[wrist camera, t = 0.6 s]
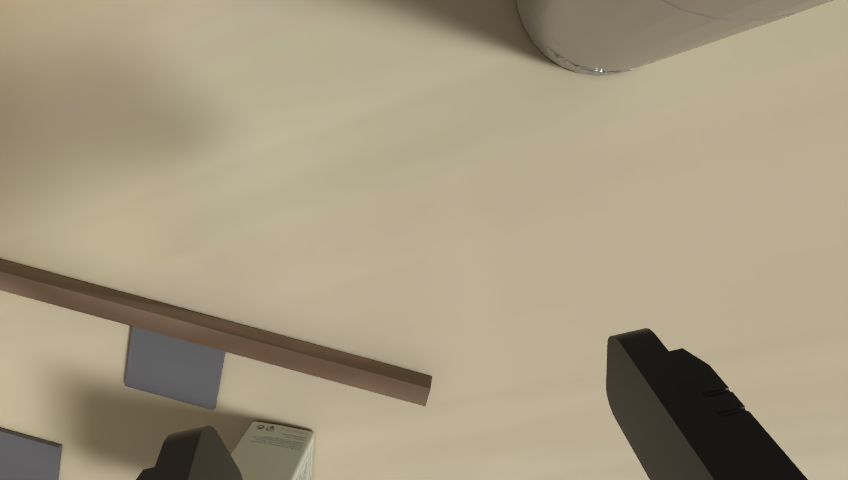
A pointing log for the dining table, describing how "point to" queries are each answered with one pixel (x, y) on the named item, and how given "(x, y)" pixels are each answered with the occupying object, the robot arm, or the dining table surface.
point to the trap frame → (215, 333)
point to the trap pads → (146, 370)
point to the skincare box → (274, 453)
